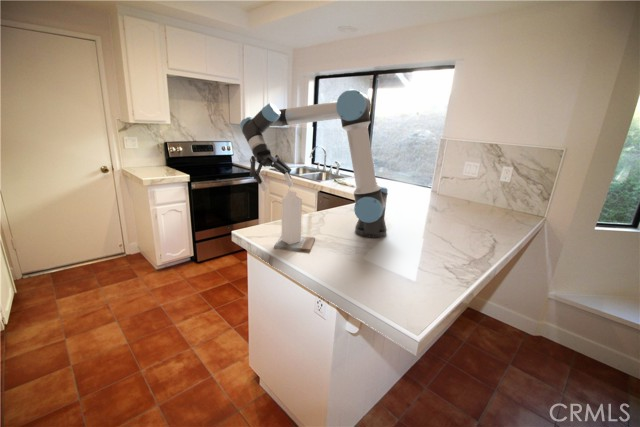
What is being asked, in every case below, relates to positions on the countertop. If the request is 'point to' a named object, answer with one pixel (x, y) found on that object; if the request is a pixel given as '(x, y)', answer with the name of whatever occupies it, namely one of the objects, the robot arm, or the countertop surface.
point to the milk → (291, 218)
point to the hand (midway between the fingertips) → (278, 187)
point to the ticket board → (296, 244)
